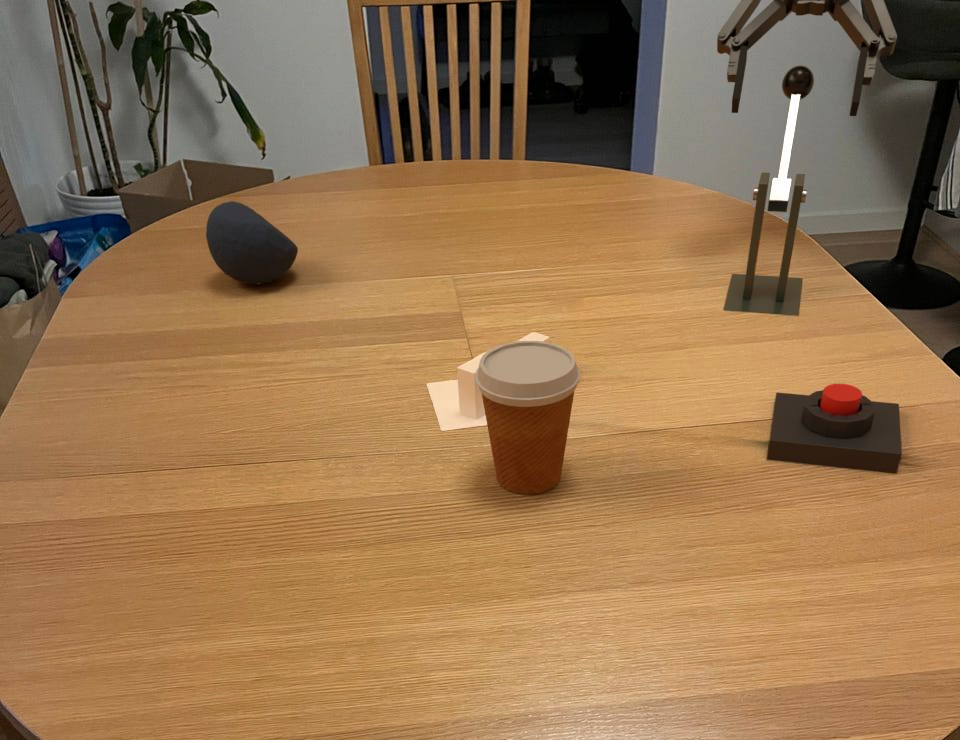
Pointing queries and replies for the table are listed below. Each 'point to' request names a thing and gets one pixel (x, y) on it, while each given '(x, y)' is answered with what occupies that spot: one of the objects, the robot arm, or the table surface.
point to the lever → (789, 133)
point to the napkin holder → (464, 395)
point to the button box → (835, 434)
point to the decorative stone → (248, 244)
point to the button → (841, 399)
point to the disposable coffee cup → (528, 411)
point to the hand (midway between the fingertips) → (793, 108)
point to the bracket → (768, 290)
